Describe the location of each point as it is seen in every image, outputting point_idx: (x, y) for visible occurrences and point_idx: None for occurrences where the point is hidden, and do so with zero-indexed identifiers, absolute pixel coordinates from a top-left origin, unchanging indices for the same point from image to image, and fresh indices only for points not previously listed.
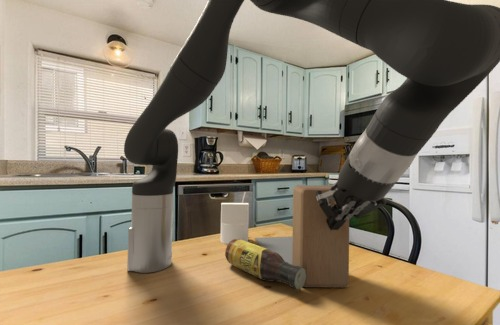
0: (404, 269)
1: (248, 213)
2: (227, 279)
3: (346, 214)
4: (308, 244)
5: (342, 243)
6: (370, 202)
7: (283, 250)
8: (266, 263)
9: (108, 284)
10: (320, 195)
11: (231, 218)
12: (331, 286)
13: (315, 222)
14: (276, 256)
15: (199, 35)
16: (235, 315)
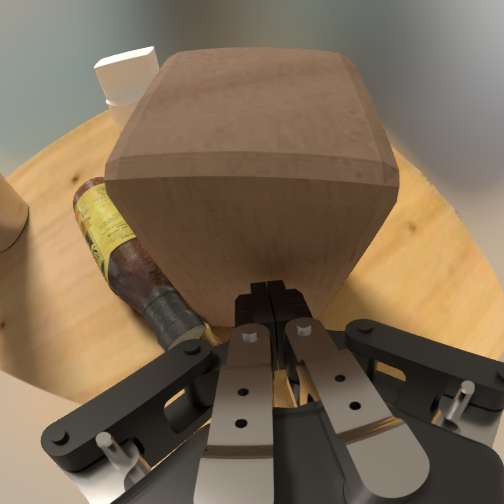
0: (448, 244)
1: (154, 69)
2: (80, 277)
3: (292, 397)
4: (196, 298)
5: (308, 303)
6: (430, 422)
7: None
8: (118, 289)
9: None
10: (67, 474)
11: (121, 87)
12: None
13: (204, 272)
14: (136, 278)
15: None
16: (76, 391)
